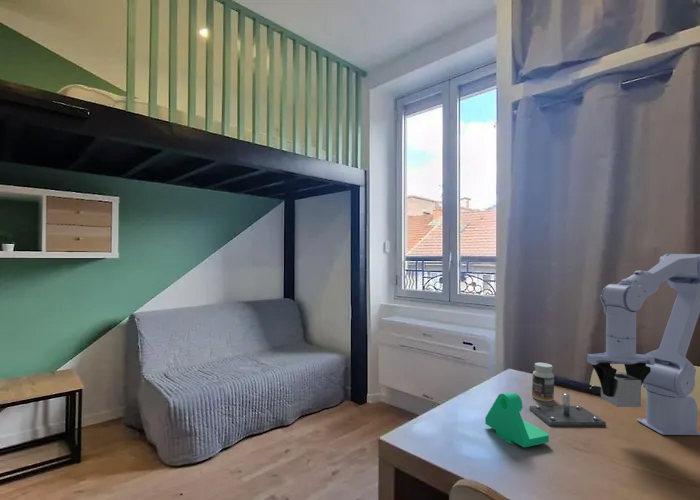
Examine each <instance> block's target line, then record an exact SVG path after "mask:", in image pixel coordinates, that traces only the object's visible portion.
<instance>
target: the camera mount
mask: <svg viewBox="0 0 700 500" xmlns="http://www.w3.org/2000/svg"><path fill="white" fill-rule="evenodd" d="M522 410H523V400H522V398H521V396H520V395H519V394H518V393H517V392H515V391H511V392H503V393H499V394H498V395H497V397H496V399H495V401H494V403H493V404H492V405H491V407H490V409H489V410H488V413H487V414H486V415H485V418H484V419H485V420H484V423H485V425H487V426H488V427H490V428H492V429H493V430H494V431H495V435H496V436H498V437H500V438H501V439H503V440H505V441H506V442H508V443H509V444H518V445H519V446H521V447H522V448H527V447H529V448H530V447H533V446H538V445H542V444H546V443H547V444H548V443H549V442H550V441H549V438H550V436H549V435H550V433H548V432H546V431H544V430H543V429H541V428H539V427H537V426H535V425H533V424H531V423H529V422H528V421H526V420H524V419H523V417H522V414H521V411H522Z"/></svg>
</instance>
